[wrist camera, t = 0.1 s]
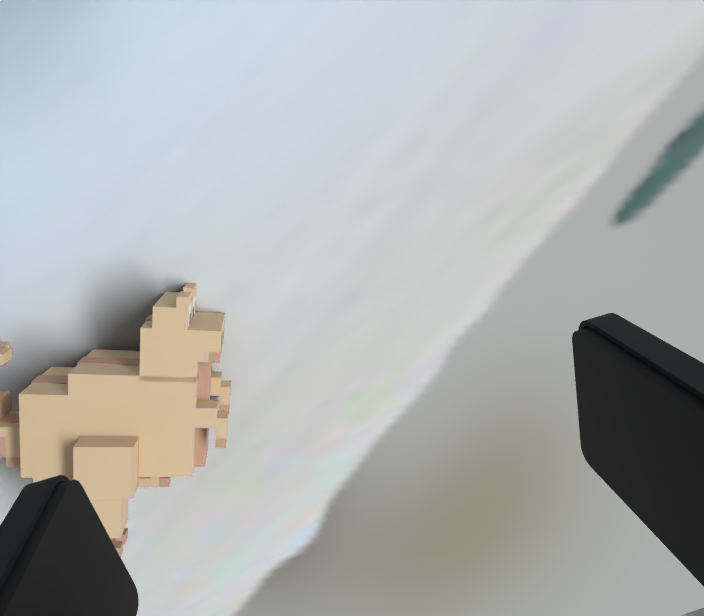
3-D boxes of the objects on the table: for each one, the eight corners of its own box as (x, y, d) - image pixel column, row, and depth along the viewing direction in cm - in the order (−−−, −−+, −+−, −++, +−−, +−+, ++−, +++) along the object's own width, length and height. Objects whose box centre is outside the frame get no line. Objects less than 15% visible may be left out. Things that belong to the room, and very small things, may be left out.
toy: (220, 553, 42) (232, 304, 38) (-63, 563, 38) (-79, 287, 34) (225, 488, 51) (236, 283, 48) (-1, 491, 48) (-8, 267, 44)
